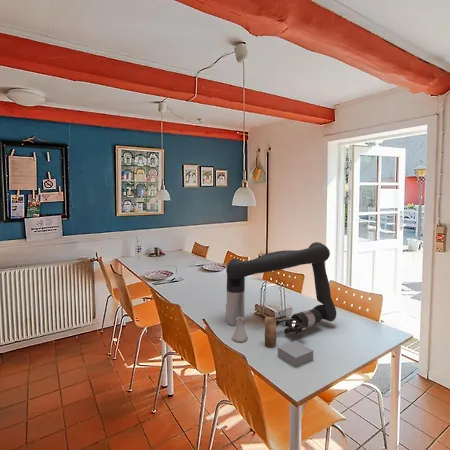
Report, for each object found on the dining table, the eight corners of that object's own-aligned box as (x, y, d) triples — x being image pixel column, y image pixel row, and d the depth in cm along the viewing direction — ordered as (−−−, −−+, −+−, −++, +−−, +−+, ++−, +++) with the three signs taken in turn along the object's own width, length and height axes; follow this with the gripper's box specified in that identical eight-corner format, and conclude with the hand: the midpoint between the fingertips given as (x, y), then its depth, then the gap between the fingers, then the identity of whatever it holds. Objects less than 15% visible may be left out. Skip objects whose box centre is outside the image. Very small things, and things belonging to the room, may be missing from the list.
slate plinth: (277, 356, 129) (277, 347, 129) (294, 349, 135) (295, 340, 134) (295, 367, 121) (295, 357, 120) (313, 360, 126) (313, 350, 126)
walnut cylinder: (262, 344, 139) (262, 318, 138) (270, 341, 142) (271, 315, 141) (269, 348, 135) (270, 322, 134) (278, 345, 138) (278, 319, 137)
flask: (228, 340, 143) (228, 319, 142) (237, 334, 149) (237, 314, 148) (242, 344, 139) (242, 322, 138) (250, 338, 145) (250, 317, 144)
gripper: (292, 307, 155) (267, 314, 146) (315, 317, 143) (289, 325, 134) (292, 322, 156) (267, 330, 147) (314, 333, 144) (289, 342, 135)
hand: (278, 328), depth 141 cm, fingers open, 8 cm apart
